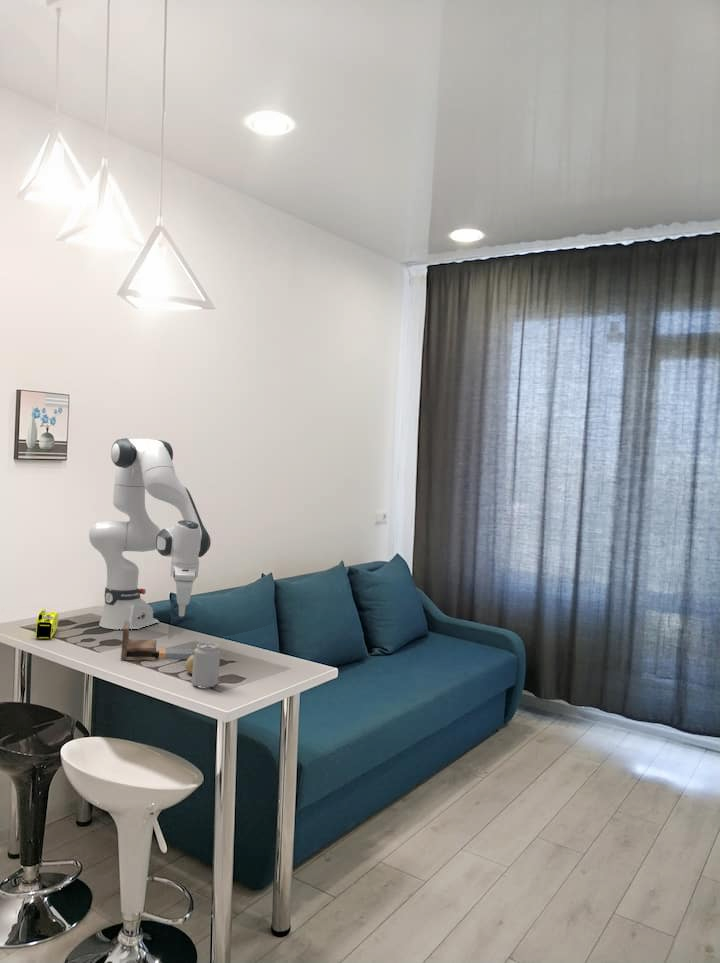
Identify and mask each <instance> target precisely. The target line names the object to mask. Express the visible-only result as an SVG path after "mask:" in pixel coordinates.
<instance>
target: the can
mask: <svg viewBox="0 0 720 963" xmlns="http://www.w3.org/2000/svg"><path fill="white" fill-rule="evenodd" d="M194 649H195V650H194V660H193V672H192V674H191V683H192V684H194V685H195V686H201V687H209V686H214V685H215V686H217V685H218V683H219V673H220V662H221V649H219V645H218V644H217V643H214V642H213V643H212V642H201V643H198V644H197V645H196V648H194ZM216 684H217V685H216ZM194 685H193V686H194ZM195 686H194V687H195ZM215 686H214V687H215Z"/></svg>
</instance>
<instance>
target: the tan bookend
mask: <svg viewBox="0 0 720 963" xmlns="http://www.w3.org/2000/svg"><path fill="white" fill-rule="evenodd" d="M129 627H130V621H125V624H124V628H123V630H122V640H121V655H120V661H156V656H127V655H128V653H139V652H148V654H151V653H152V654H153V653H154V654H155V653H156V652H157V642H158V640H157V639H135V638H134V639H133V638H132V639H131V638H130V630H129ZM129 638H130V639H129ZM126 659H127V660H126Z"/></svg>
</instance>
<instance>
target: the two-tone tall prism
mask: <svg viewBox="0 0 720 963" xmlns="http://www.w3.org/2000/svg"><path fill="white" fill-rule="evenodd" d="M158 649H159V651H158V660H187V659H188V658H189V657H190V656H191V655H192V653H193V651H194V650H195V649H196V648H166V647H165V648H162V647H159V648H158Z"/></svg>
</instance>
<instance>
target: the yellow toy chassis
mask: <svg viewBox="0 0 720 963" xmlns="http://www.w3.org/2000/svg"><path fill="white" fill-rule="evenodd" d="M58 624H59V610H57V611H56V612H49V611H46V608H45V607H44V606H43V607H42V608H41V610H40V611H39V612H38V614H37V618H36V627H35V639H40V640H48V639H52V638H53V636H54V635H55V633H56V632H57V628H58Z"/></svg>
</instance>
